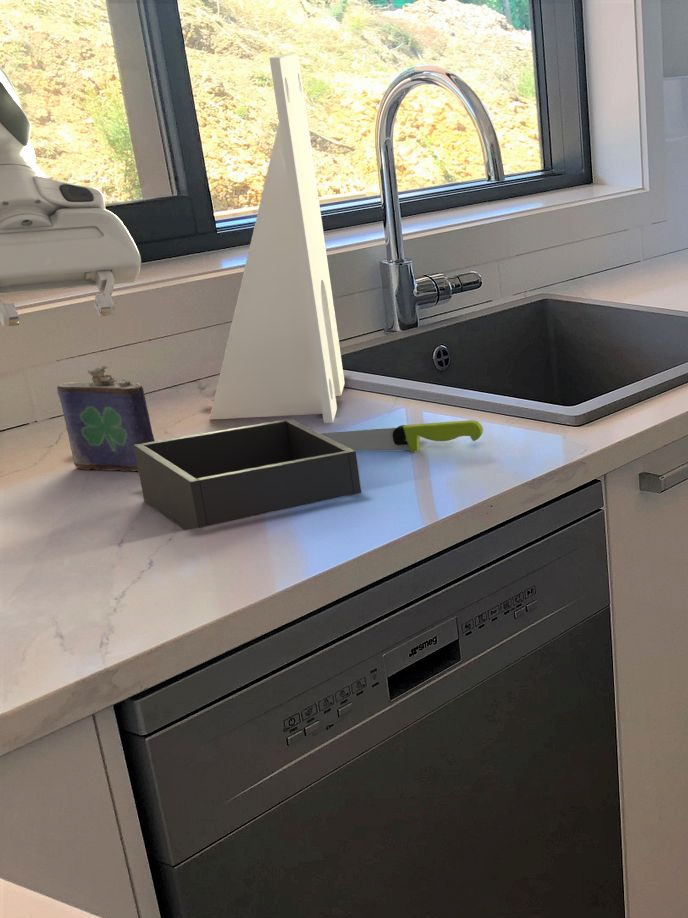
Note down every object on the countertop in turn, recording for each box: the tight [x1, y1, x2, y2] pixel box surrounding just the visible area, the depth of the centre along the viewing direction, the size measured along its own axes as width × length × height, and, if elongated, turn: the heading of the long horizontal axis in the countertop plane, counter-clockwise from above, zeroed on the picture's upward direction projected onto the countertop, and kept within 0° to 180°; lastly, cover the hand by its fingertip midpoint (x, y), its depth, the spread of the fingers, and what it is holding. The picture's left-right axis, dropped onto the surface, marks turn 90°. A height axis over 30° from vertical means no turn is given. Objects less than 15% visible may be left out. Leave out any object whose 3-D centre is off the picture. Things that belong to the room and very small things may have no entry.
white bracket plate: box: [209, 52, 346, 424], centre depth 164 cm, size 20×14×40 cm
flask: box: [56, 365, 156, 472], centre depth 146 cm, size 9×3×11 cm, turn 84°
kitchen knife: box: [319, 419, 484, 453], centre depth 154 cm, size 22×1×3 cm, turn 90°
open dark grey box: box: [133, 418, 362, 531], centre depth 136 cm, size 16×16×6 cm
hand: (60, 317), depth 149 cm, fingers open, 8 cm apart
